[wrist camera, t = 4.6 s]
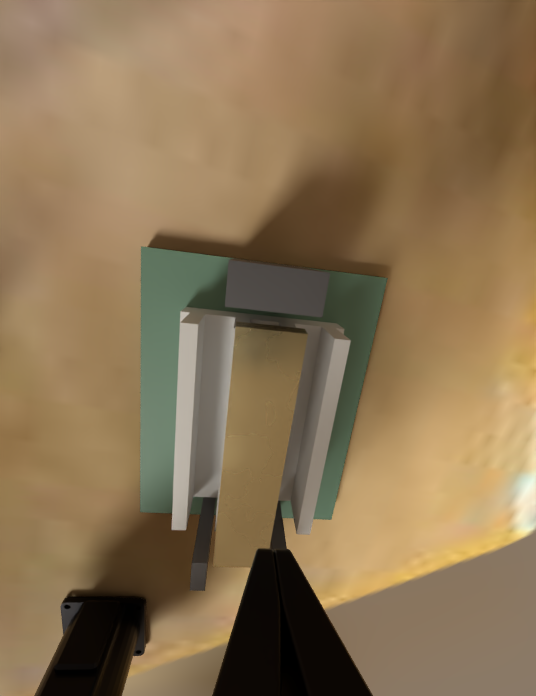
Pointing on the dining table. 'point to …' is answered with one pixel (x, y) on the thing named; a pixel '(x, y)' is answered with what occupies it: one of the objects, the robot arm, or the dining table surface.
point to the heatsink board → (215, 374)
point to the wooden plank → (256, 437)
